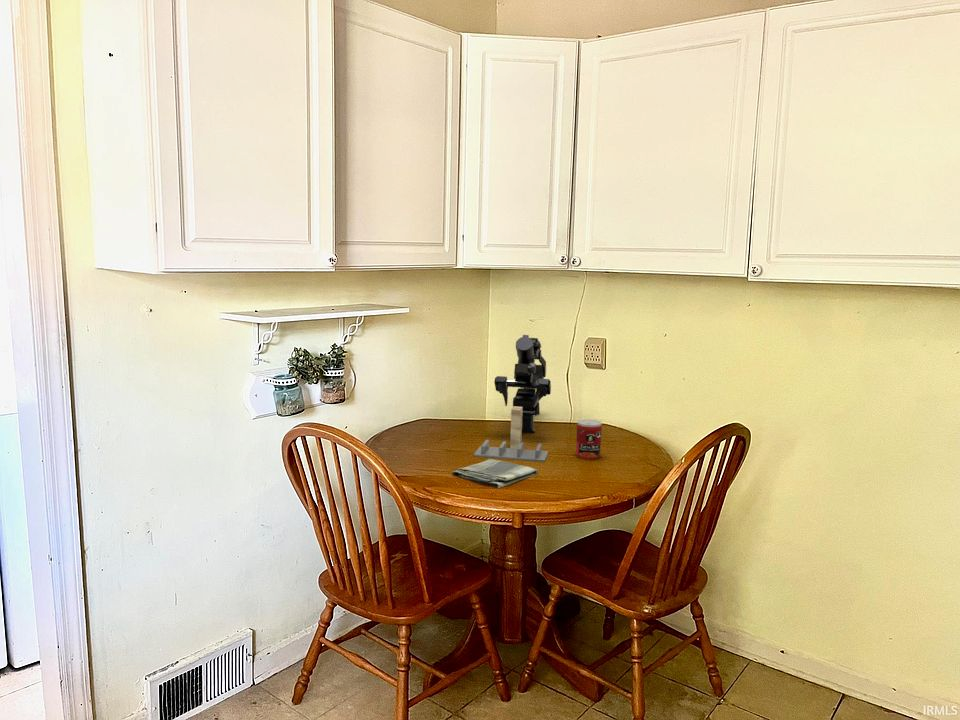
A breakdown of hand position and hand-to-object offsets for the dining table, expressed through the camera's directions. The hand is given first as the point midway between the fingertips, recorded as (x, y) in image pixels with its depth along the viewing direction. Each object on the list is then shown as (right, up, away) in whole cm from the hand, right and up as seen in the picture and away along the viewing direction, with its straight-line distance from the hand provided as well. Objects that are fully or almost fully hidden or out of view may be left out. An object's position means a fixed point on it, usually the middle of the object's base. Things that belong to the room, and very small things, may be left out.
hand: (519, 406), depth 240 cm
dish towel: (-9, -18, -33) cm, 38 cm away
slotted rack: (-3, -14, -13) cm, 19 cm away
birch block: (-1, -13, -4) cm, 14 cm away
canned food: (+21, -15, -12) cm, 28 cm away
